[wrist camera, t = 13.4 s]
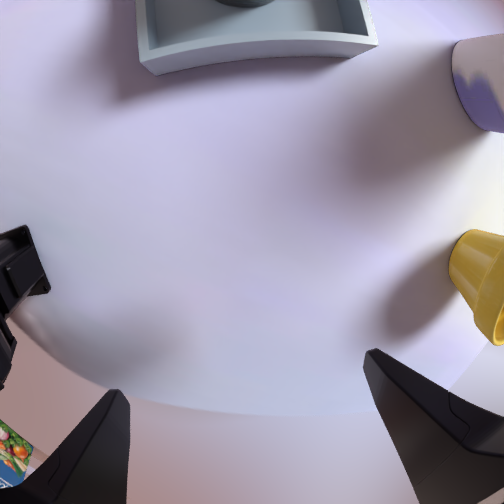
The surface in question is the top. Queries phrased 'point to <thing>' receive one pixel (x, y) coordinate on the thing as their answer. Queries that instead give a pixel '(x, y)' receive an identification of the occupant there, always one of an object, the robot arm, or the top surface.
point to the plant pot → (481, 279)
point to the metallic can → (245, 3)
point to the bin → (249, 31)
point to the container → (481, 79)
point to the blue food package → (12, 457)
